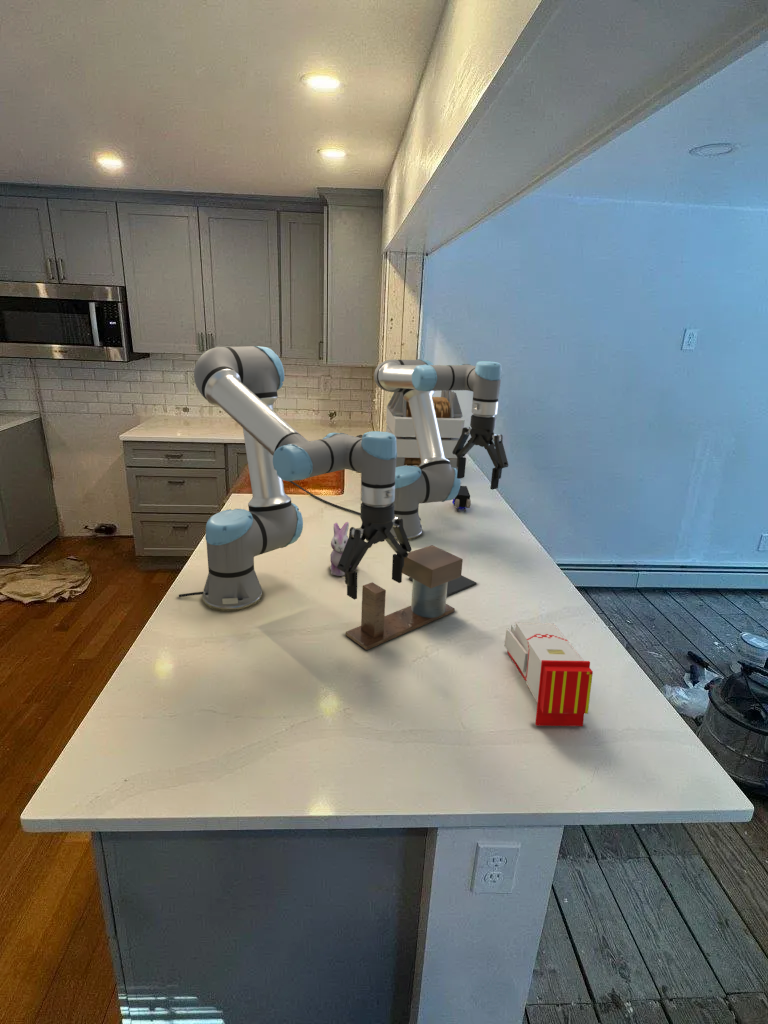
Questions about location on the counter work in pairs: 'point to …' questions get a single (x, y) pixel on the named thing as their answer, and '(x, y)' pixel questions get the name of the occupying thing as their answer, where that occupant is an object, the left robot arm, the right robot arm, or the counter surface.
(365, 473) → the left robot arm
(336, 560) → the figurine
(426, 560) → the lid
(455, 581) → the coaster
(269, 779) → the counter surface
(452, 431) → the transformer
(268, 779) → the counter surface
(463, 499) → the figurine character
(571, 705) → the toy
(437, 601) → the wooden base with post
